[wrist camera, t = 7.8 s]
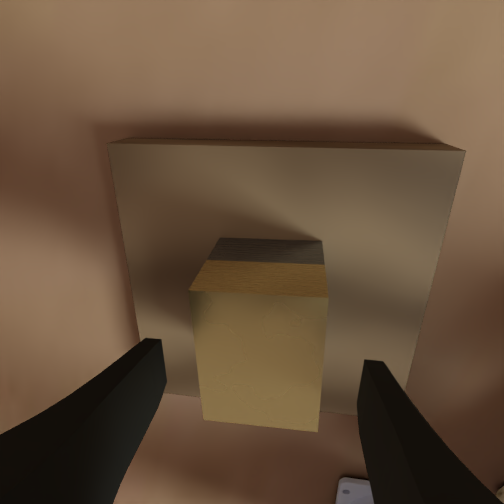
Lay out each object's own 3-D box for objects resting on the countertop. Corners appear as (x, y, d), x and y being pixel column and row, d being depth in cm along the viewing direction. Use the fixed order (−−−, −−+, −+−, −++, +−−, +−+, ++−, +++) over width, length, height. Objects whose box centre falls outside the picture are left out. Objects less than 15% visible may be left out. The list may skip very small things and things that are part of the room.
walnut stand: (389, 391, 20) (397, 420, 18) (161, 366, 22) (148, 390, 20) (445, 143, 14) (465, 151, 12) (128, 138, 16) (106, 143, 14)
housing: (322, 240, 15) (328, 298, 11) (314, 350, 17) (317, 432, 13) (219, 237, 15) (188, 290, 11) (227, 344, 18) (203, 419, 14)
